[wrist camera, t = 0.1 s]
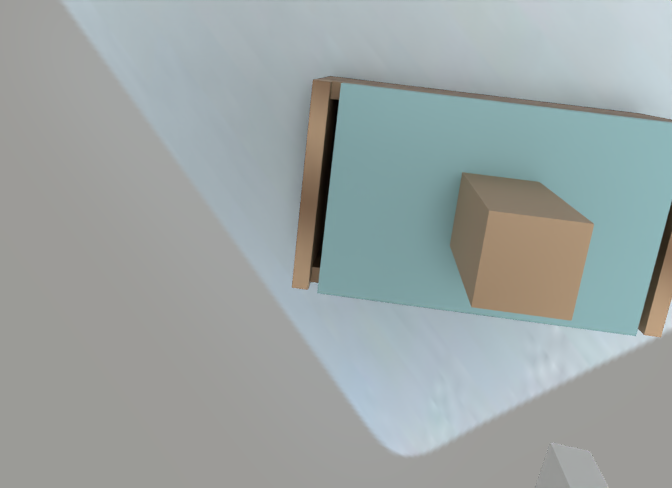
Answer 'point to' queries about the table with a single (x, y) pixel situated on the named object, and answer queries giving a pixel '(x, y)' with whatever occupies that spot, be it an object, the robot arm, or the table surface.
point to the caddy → (666, 278)
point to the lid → (495, 208)
